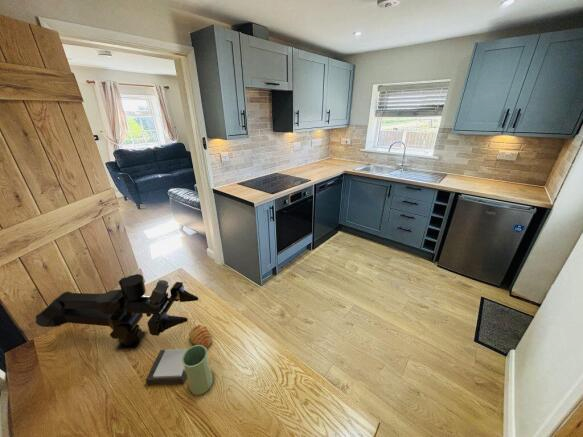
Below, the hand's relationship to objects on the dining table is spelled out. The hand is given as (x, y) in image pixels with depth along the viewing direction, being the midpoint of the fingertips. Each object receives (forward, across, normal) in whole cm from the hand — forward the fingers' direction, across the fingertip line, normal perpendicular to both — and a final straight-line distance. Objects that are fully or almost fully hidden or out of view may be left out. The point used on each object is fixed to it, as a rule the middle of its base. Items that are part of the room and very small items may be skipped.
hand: (193, 308), depth 80 cm
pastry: (+1, +2, +17) cm, 17 cm away
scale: (-4, -10, +17) cm, 20 cm away
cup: (+7, -14, +16) cm, 23 cm away
